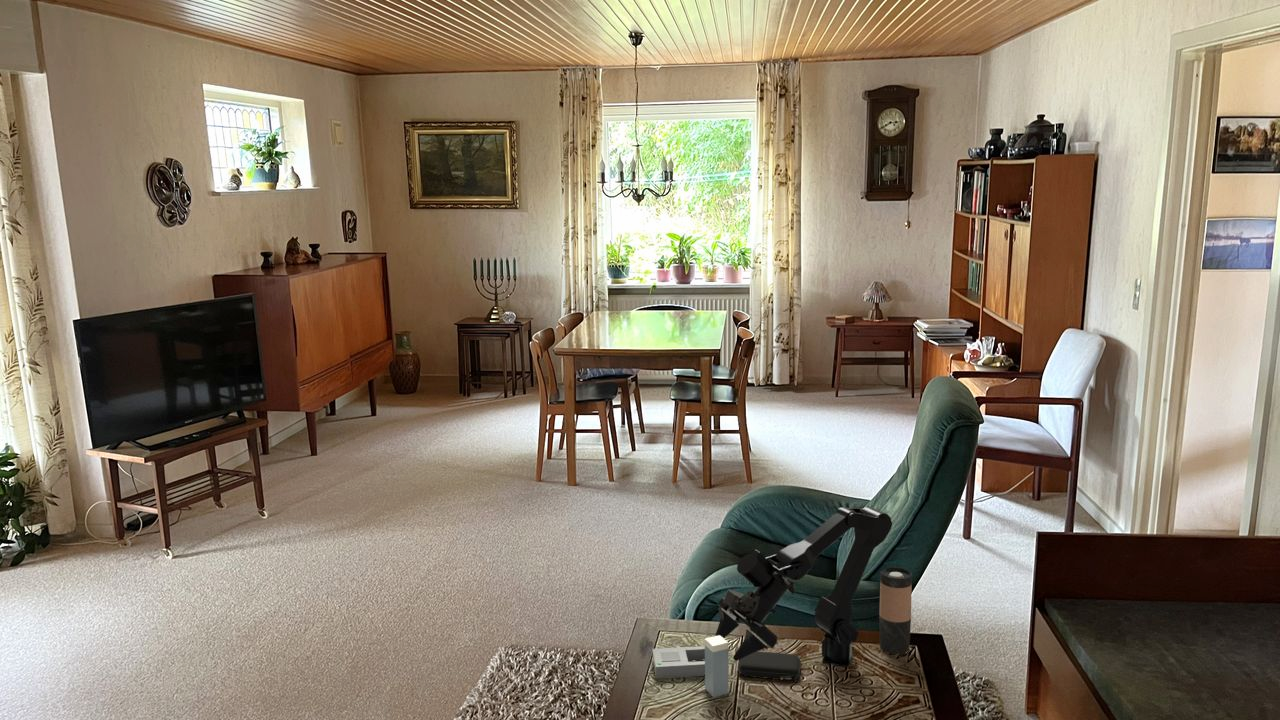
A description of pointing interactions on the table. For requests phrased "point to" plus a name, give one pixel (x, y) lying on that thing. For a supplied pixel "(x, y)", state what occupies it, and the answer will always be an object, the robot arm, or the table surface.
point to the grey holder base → (679, 662)
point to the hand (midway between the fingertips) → (724, 651)
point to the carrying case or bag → (770, 665)
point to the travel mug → (895, 610)
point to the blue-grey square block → (716, 666)
